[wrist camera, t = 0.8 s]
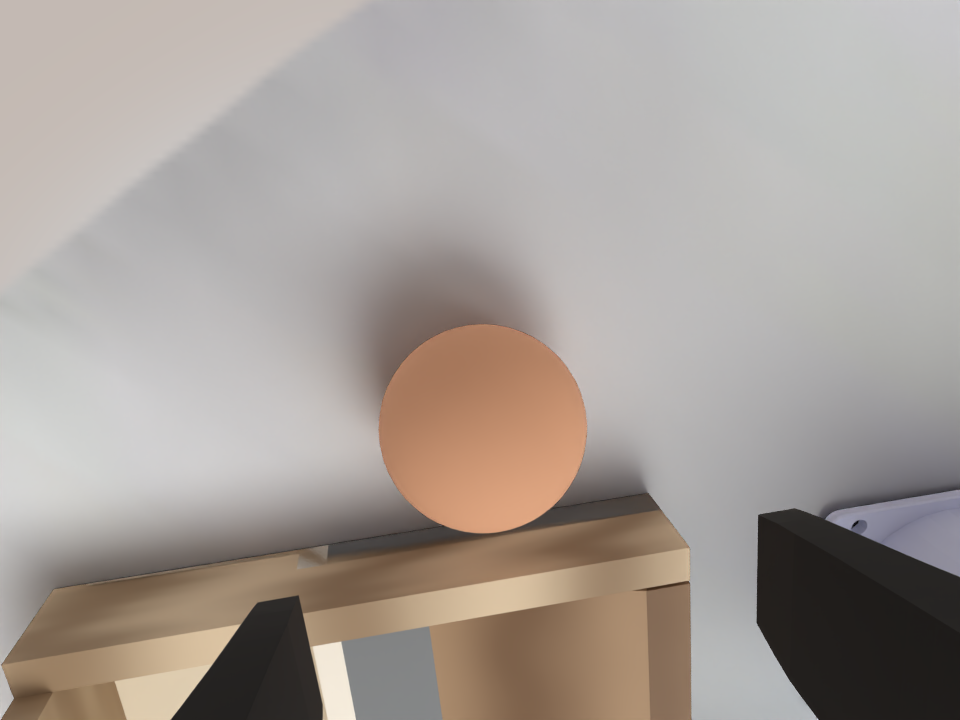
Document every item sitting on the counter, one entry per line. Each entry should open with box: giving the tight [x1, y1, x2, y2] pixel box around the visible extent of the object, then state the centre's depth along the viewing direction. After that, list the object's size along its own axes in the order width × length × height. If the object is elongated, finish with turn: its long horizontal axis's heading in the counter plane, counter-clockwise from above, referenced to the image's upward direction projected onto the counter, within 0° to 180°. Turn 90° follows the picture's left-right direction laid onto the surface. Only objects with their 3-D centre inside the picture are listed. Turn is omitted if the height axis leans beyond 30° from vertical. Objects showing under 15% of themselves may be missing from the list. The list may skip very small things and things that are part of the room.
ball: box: [379, 324, 587, 533], centre depth 18 cm, size 5×5×5 cm
